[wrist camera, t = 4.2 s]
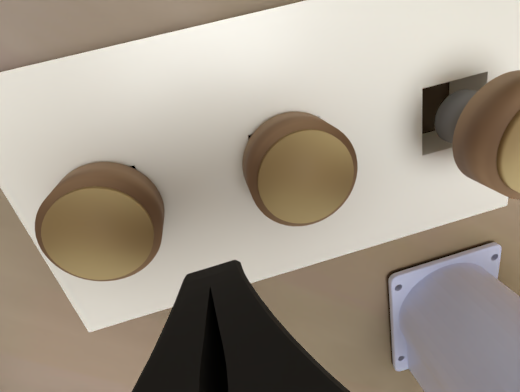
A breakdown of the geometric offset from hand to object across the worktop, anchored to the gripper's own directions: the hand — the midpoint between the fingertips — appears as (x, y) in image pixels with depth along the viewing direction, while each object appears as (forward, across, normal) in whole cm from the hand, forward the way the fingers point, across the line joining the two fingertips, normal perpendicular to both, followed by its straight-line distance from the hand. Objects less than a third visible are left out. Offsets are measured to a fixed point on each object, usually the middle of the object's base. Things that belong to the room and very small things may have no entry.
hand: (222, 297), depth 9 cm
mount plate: (+10, -4, 0) cm, 11 cm away
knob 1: (+10, +4, 0) cm, 11 cm away
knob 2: (+7, -12, 0) cm, 14 cm away
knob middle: (+10, -4, 0) cm, 11 cm away
